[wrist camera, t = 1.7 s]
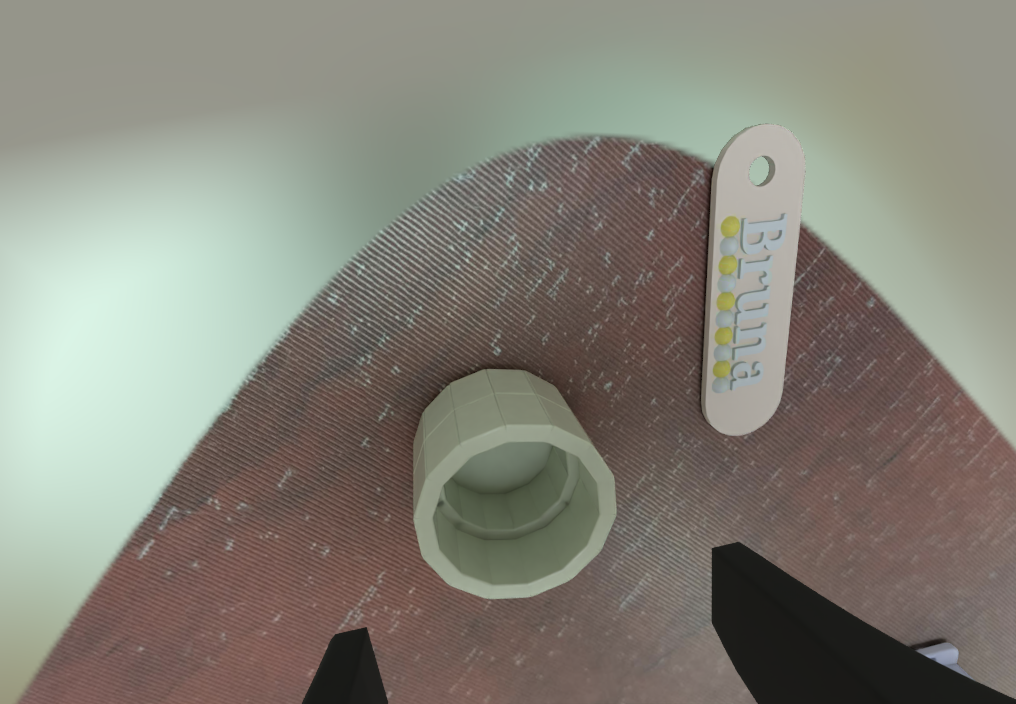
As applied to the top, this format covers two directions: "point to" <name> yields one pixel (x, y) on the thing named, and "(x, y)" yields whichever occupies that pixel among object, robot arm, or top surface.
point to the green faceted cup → (508, 486)
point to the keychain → (750, 278)
